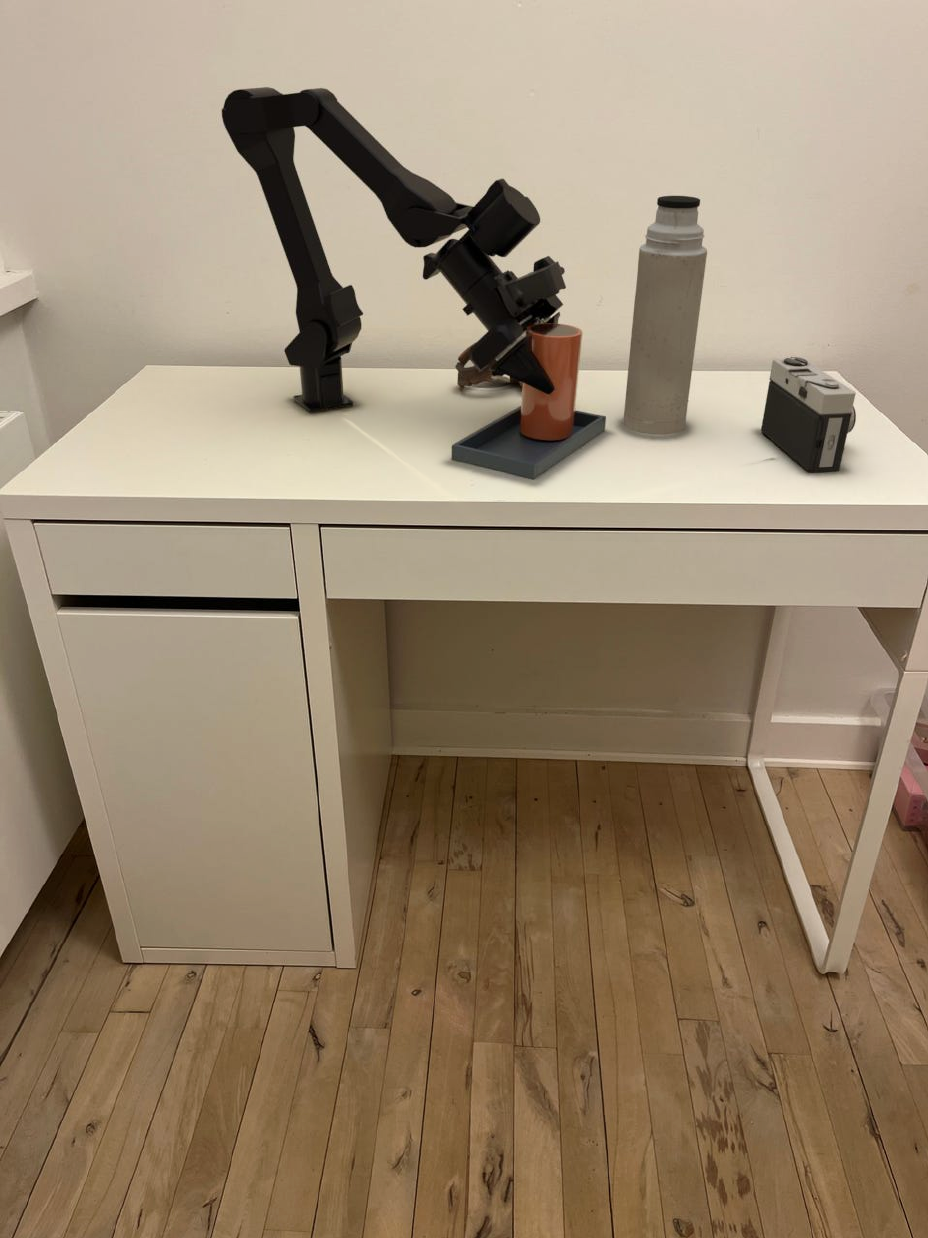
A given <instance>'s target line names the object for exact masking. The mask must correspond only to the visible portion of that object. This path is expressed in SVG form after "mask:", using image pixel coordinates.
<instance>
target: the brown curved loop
mask: <svg viewBox="0 0 928 1238" xmlns="http://www.w3.org/2000/svg"><path fill="white" fill-rule="evenodd" d="M475 343H476V342H474V343H473V344H470V345H469V346H468V347H467V348H466V349H465V350H463V352H462V353H461V354H460V355H459V356H458V358H457V360H458V362H457V363H456V364H455V366H454V367H455V368H454V369H455V370H456V371H457V385H458V387H459V389H460V390H464V388H465V387H471V386H472V385H474V386H475V385H476V386H477V385H479V384H481V383H489V384H493V383H494V381H493V377H503V376H506V375H505V374H503V373H500V372H498V371H495V370H494V371H492V370H490V368H491V367H492V366H493V365H494V364H495V363H496V362H497V360H496V359H495V358H494V359H493V360H492V361H491V363H490V364H489V365H488V366H487V367H486V368H484V369H483V370H482V371H479V370H478V369H477V368H476V367H475V365H472V366H467V367H465V366H466V365H467V364H468V362H469V361H470V348H471V347H472V346H473V345H474V344H475ZM508 377H509V383H510V384H513V383H517V384H518V385H520V387H522V386H523V382H521V381H519V380H517V379H515V378H512V377H510V376H508Z"/></svg>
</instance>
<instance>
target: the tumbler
mask: <svg viewBox="0 0 928 1238" xmlns="http://www.w3.org/2000/svg"><path fill="white" fill-rule="evenodd" d="M531 332H532V351H533V353H534V354H535V356H536V358H537V359H538V361H539V362H540V364H541V365H542V367H543V369H544V370H545V372H546V373H547V375H548V376H549V378H550V380H551V382H552V383H553V385H554V387H555V390H554V391H553V392H552V393H551V394H546V393H544V392H542V391H540V390H538V389H536V388H534V387H532V386H529V385H527V384H525V383H523V386H521V404H520V406H521V416H520V432H521V433H522V434H523V435H525V436H527V437H530V438H533V439H538V440H547V441H554V440H562V439H566V438H569V437H570V436H572V434H573V427H574V417H575V410H576V407H577V406H576V405H577V396H578V395H577V394H578V384H579V373H580V361H581V355H582V354H581V352H582V343H583V330H582V329H581V328H580V327H577V326H574V325H570V324H563V323H558V324H556V323H542V324H534V325H531V326H528V327H527V328H526V336H527V335H528V334H529V333H531Z"/></svg>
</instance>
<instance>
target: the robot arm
mask: <svg viewBox="0 0 928 1238" xmlns="http://www.w3.org/2000/svg"><path fill="white" fill-rule="evenodd" d="M221 120H222V123H223V126H224V128H225V130H226V133H227V135H228V136H229V138H230V140H231V142H232V144H233V146H234V148H235V150H236V152H238V154H239V155H240V156H241V158H243V160H244V161H245V162H246V163H247V164H248V165H249V167H250V168H251V169H252V171H254V172H255V174H256V176H257V179H258V181H259V184H260V187H261V190H262V193H263V195H264V198H265V201H266V204H267V207H268V209H269V212H270V215H271V218H272V220H273V223H274V226H275V229H276V232H277V235H278V237H279V241H280V243H281V246H282V249H283V251H284V255H285V257H286V260H287V262H288V266H289V269H290V272H291V274H292V277H293V280H294V282H295V286H296V300H295V316H296V321H297V322H296V323H297V327H298V331H299V333H297V334H296V336H294V338H293V339H292V340H291V341H290V342H289V343H288V345H287V346H286V347H285V348H284V350H283V351H284V354H285V357H286V359H287V362H288V364H289V365H290V366H295V367H299V375H300V388H301V394H297V395H293V401H295V402H296V403H297V404H299V405H300V406H301V407H303V408H304V409H305V410H306V411H308V412H309V413H315V412H322V411H326V410H333V409H338V408H344V407H349V406H353V405H354V401H353V400H352V399H351V398H349V397H348V396H346V395H345V394H344V377H343V365H342V364H343V363H342V361H343V360H342V357H343V356H344V355H346V354H350V352H351V349H352V345H353V343H354V342H355V341H356V340H357V339H358V337H359V335H360V332H361V330H362V326H363V325H362V318H361V317H362V316H363V315H364V312H363V311H362V309H361V308H360V306H359V304H358V301H357V297H356V290H355V288H354V286H353V285H352V284H349V285H347V286H344V287H343V286H342V285H341V284H340V283H339V282H338V280H337V279H336V278H335V277H334V275H333V273H332V271H331V267H330V265H329V262H328V259H327V255H326V253H325V250H324V246H323V245H322V242H321V238H320V235H319V232H318V229H317V226H316V223H315V221H314V217H313V215H312V212H311V209H310V206H309V203H308V200H307V196H306V194H305V191H304V188H303V186H302V183H301V180H300V179H301V178H300V176H299V174H298V171H297V168H296V165H295V160H294V157H295V142H296V133H295V128H299V127H305V128H307V129H308V130H310V131H311V133H313V134H314V136H316V138H318V140H320V141H321V142H322V143H323V144H324V145H325V146H326V147H327V149H329V150H330V151H331V152H332V153H333V154H334V155H335V156H336V157H337V158H338V159H339V160H340V161H341V162H342V163H343V164H344V165H345V166H346V167H347V168H348V169H349V170H350V171H351V172H352V173H353V174H354V175H355V176H356V177H357V178H358V179H359V180H360V181H361V182H362V183H363V184H364V186H367V188H368V189H369V190H370V191H371V192H372V193H374V195H375V197H376V198H377V199H378V200H379V202H380V203H381V205H382V208H383V210H384V213H385V216H386V218H387V220H388V221H389V222H390V224H391V225H392V227H393V228H394V229H395V230H396V232H397V233H398V235H399V236H400V237H401V239H402V240H403V241H404V242H405V243H406V244H407V245H409V246H410V247H413V248H415V249H416V248H420V249H421V248H428V247H429V246H433V245H434V244H436V243H437V244H438V243H439V242H441V241H444V240H446V239H448V240H447V241H446V242H445V243H444V244H443V245H442V246H441V247H440V248H439V249H438V251H437V252H436V253H435V252H429V253H427V254H425V255H423V258H422V259H423V268H422V278H423V280H425V281H426V280H429V279H431V278H433V277H436V276H437V275H439V274H441V275H442V276H443V277H444V279H445V280H446V281H447V282H448V284H449V285H450V286H451V287H452V288H453V290H454V291H455V292H456V293H457V294H458V296H459V297H460V298H461V300H462V301H463V302H464V303H465V304H466V305H465V306H464V307H463V308H462V311H463V312H464V313H465V315H466V316H470V315H472V314H473V315H474V316H475V317H476V318H477V320H478V321H479V322H480V323H481V324H482V325H483V327H484V328H485V329H486V330H487V332H486V333H485V334H484V335H483V336H482V337H480V338H479V339H478V340H477V341H476V342H474V343H475V344H474V343H473V344H474V345H473V344H472V345H473V346H472V347H471V348H470V360H469V361H470V362H471V363H472V364H473V366H475V367H476V368H477V369H478V370H479V371H482V370H483V369H484V368H486V367H487V366H488V365H489V364H490V363H491V361H492V360H493V359H494V358H495V359H496V360H497V362H496V363H495V364H494V365H493V366H492V367H491V368H490V370H492V371H494V370H495V371H498V372H500V373H503V374H505V375H504V376H508V377H509V376H510V377H512V378H515V379H517V380H519V381H521V382H523V383H525V384H527V385H529V386H532V387H534V388H536V389H538V390H540V391H542V392H544V393H546V394H551V393H552V392H553V391H554V390H555V387H554V385H553V383H552V382H551V380H550V378H549V376H548V375H547V373H546V372H545V370H544V369H543V367H542V365H541V364H540V362H539V361H538V359H537V358H536V356H535V354H534V353H533V351H532V332H531V333H529V334H528V335H527V336H526V328H527V327H528V326H531V325H534V324H542V323H556V324H559V320H560V319H559V318H560V317H561V312H560V311H559V310H560V309H561V308H562V307H563V306H564V303H563V302H562V300H561V299H560V298H559V297H558V296H557V295H558V294H559V293H560V291H561V290H565V289H566V288H567V285H566V283H565V280H564V277H563V276H564V274H565V272H566V271H565V268H564V267H563V266H561V265H560V263H559V261H555V260H554V259H553V258H552V257H551V256H549V255H547V256H545V257H542V258H540V259H538V260H536V261H535V262H533V269H532V270H533V271H531V272H529V273H527V274H525V275H522V276H520V277H518V276H517V275H516V274H515V272H513V271H512V270H505V271H504V272H503V271H502V269H500V267H499V266H498V265H497V264H496V262H495V260H493V259H492V258H493V257H495V256H498V257H500V258H506V257H508V256H509V255H510V254H511V253H512V252H513V251H514V250H515V249H516V248H517V247H518V246H519V244H520V243H522V242H523V241H524V240H525V239H526V238H527V237H528V236H529V235H530V234H531V233H532V232H533V231H534V230H535V229H537V227H538V226H539V225H540V223H541V216H540V213H539V211H538V209H537V207H536V206H535V204H534V202H532V200H531V199H530V198H529V197H528V196H525V195H524V194H523V193H522V192H520V191H519V190H518V189H517V188H515V187H514V186H511V185H509V183H508V182H507V181H506V180H505V178H498V179H496V180H494V181H493V183H491V185H490V186H489V187H488V189H487V190H486V192H485V193H484V195H483V196H482V197H481V198H480V199H479V200H478V202H476V203H475V205H474V206H473V205H468V204H464V203H461V202H457V201H455V200H454V198H453V197H452V196H451V195H450V194H449V193H448V192H446V191H445V190H443V189H442V188H441V187H439V186H437V185H436V184H435V183H433V182H432V181H430V180H429V179H427V178H425V177H423V176H420V175H418V174H416V173H414V172H412V171H411V170H409V169H408V168H406V166H403V164H401V162H399V160H398V159H397V158H395V156H393V154H392V153H391V152H389V150H387V149H386V147H385V146H383V145H382V144H381V142H379V141H378V140H377V139H376V138H375V136H373V135H372V134H371V132H369V131H368V130H367V129H366V127H364V125H362V124H361V123H360V122H359V121H358V119H356V118H355V117H354V116H353V115H352V114H351V113H350V112H349V111H348V110H347V109H346V108H345V107H344V106H343V105H342V104H341V103H340V102H339V101H338V98H337V96H336V95H335V94H334V93H333V92H332V91H330V90H329V89H328V88H324V87H317V88H308V89H307V88H306V89H303V90H300V91H299V92H293V93H284V94H283V93H282V92H280V91H279V90H277V89H275V88H273V87H268V86H264V87H263V86H262V87H252V88H251V87H250V88H239V89H235V90H232V91H231V92H230V93H229V94H228V95H227V96H226V98H225V99H224V103H223V108H222V109H221ZM465 229H468V230H467V231H466V232H465V233H464V234H463V235H462V236H461V237H460V238H459V239H457V238H450V237H451V236H452V235H453V234H455V233H458V232H460V231H462V230H465ZM449 238H450V239H449ZM557 311H558V312H557ZM556 312H557V313H556ZM510 377H509V378H510Z"/></svg>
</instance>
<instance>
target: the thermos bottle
mask: <svg viewBox="0 0 928 1238" xmlns="http://www.w3.org/2000/svg"><path fill="white" fill-rule="evenodd" d="M656 205H657V207H658V208H657V210H656V211H655V212H656V213H655V221H654V222H653V223H651V224H649V225H648V226H647V230H646V234H645V235H644V236H645V243H644V244H642V245H640V246H639V249H638V250H639V251H638V260H637V273H636V274H637V275H636V286H635V294H634V303H633V304H634V305H633V313H632V325H631V337H630V347H629V357H628V367H627V377H626V378H627V379H626V388H625V389H626V390H625V400H624V412H623V421H622V422H623V423H622V424H623V426H625V428H627V429H629V430H631V431H632V432H636V433H639V434H644V435H654V436H656V435H657V436H664V435H665V436H667V435H673V434H678V433H679V432H682V431H683V430H684V429H685V428H686V422H687V414H688V405H689V396H690V391H691V390H690V389H691V383H692V375H693V365H694V358H695V351H696V343H697V335H698V334H697V333H698V327H699V321H700V311H701V305H702V295H703V289H704V279H705V272H706V264H707V256H708V249H707V248H706V247H705V246H703V241H704V240H703V239H704V238H705V233H704V228H703V227H702V226H701V225H700V224H699V223H698V219H699V211H698V208H699V207H700V205H701V199H700V198H698V197H695V196H687V195H663V196H660V197H657V201H656Z"/></svg>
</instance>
